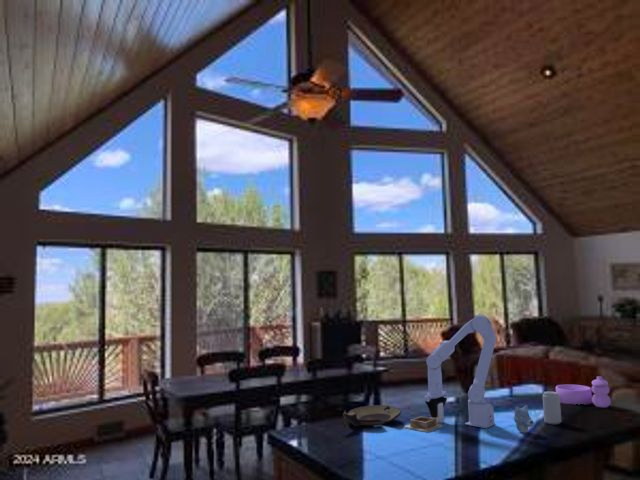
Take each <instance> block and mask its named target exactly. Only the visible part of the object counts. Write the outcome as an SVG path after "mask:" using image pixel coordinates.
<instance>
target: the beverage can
mask: <svg viewBox="0 0 640 480" xmlns="http://www.w3.org/2000/svg"><path fill="white" fill-rule="evenodd" d="M542 405H543V406H542V409H543V421H544V422H545V423H546V424H548V425H559V424H561V423H562V410H561V402H560V396H559V395H558V393H557V392H556V391H552V390H551V391H543V394H542Z"/></svg>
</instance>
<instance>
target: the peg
mask: <svg viewBox="0 0 640 480" xmlns="http://www.w3.org/2000/svg"><path fill="white" fill-rule="evenodd" d="M444 417H445V415H444V409H443V402H439V403H438V406H437V417H436V418H434V419H437V424H439V425H441V424H443V423H445V418H444ZM429 418H433V417H431V414H430V413H429Z"/></svg>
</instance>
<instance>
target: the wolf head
mask: <svg viewBox="0 0 640 480" xmlns="http://www.w3.org/2000/svg"><path fill="white" fill-rule="evenodd" d="M513 420H514V423H515V427H516V430H518V432H520V433H523V434H527V433H528V431H529V428H531V427H533V426H534V425H535V422H534V421H533V419H532V418H531V416H530V413H529V409H528V405H527V404H526V405H524V406H523V407H520V406H515V408H514V416H513Z"/></svg>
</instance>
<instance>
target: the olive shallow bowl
mask: <svg viewBox="0 0 640 480" xmlns="http://www.w3.org/2000/svg"><path fill="white" fill-rule="evenodd" d="M401 413H402V410H401V409H400V408H399V407H396V406H395V405H389V404H388V405H387V404H377V405H376V404H375V405H365V406H359V407H356V408H353V409H351V410H349V411H348V412H347V413H346V412H343V413H342V417H344V418H345V419H346V420H347V421H349V422H350V424H352V425H353V426H356V427H358V426H369V427H371V426H380V425H384V424H388V423H390V422H392V421H394V420H396V419H397V418H399V417H400V415H401Z"/></svg>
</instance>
